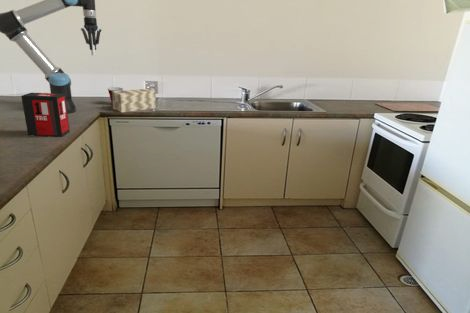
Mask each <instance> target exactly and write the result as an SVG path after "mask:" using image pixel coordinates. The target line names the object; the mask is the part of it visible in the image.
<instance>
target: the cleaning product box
mask: <svg viewBox="0 0 470 313" xmlns="http://www.w3.org/2000/svg"><path fill="white" fill-rule="evenodd" d="M20 97H21V102H22V108H23V109H22V110H23V113H24V119H25V125H26V131H27V136H28V135H34V136H33V137H48V136H52V137H53V138H57V137H58V138H63V137H65V136H66V135H68V134H70V133H71V131H70V130H71V129H70V123H69V117H68V116H69V115H68V114H69V113H67V106H66V99H65V94H54V93H51V92H50V93H49V92H28V93H26V94H22V95H21V96H20Z"/></svg>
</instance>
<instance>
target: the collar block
mask: <svg viewBox="0 0 470 313" xmlns="http://www.w3.org/2000/svg"><path fill="white" fill-rule="evenodd" d="M139 90H146V91H139ZM121 92H129V93H121ZM112 98H113V105H112V108H113V110H114V111H117V112H119V113H128V112H137V111H144V110H151V109H153V110H154V109H156V108H157V103H156V101H157V100H156V91H155V90H152V89H149V88H139V89H127V90H123V91H113V92H112Z"/></svg>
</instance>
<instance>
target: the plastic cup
mask: <svg viewBox="0 0 470 313" xmlns="http://www.w3.org/2000/svg"><path fill="white" fill-rule="evenodd" d="M106 89H107V91H108V94H109V98H110V102H111V105H112V106H113V98H112V92H113V91H124V88H123V87H119V86H118V87H117V86H110V87H107V88H106Z"/></svg>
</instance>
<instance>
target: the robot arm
mask: <svg viewBox="0 0 470 313" xmlns="http://www.w3.org/2000/svg"><path fill="white" fill-rule="evenodd" d="M69 7H82V12H83V13H82V14H83V23H84V25H83V27H82V28H80V31H81V32H82V34H83V38H84V40H85V43H86V44H87V45H89V50H90V51H91V56H96V51H97V45H99V43H100V36H101V32H102V29H101V28H99V27H98V23H97V22H98V21H97V18H96V17H97V13H96V12H97V11H96V0H41V1H39V2H36V3H34V4H31V5H28V6H25V7H23V8H21V9H18V10H14V9H12V10H9V11H6V12H1V13H0V33H1V34H3V35H4V36H6V37H7V38H8V40H9V41H10V42H13V43H16V45H17V46H19V48H20V50H22V51H23V53H24V54H26V55H27V56H28V58H29V59H30V60H31V62H32V63H34V65H36V67H38V69H39V70H40V71H41V72H42V73H43V75H44V79H45V80H46V81H47V82H48V84H49V91H50V93H54V94H65V99H66V106H67V114H71V113H75V112H77V107H76V105H75V102H74V101H73V96H72V89H71V87H72V86H71V85H72V79H71V77H70V76H69V75H68V74H67V73H65V71H63V69H62V68H61V67H57V66H56V65H55V64H54V62H52V60H50V58H49V57H48V56H47V55H46V54H45V52H43V50H42V49H41V48H40V46H38V44H37V43H36V42H35V41H34V40H33V39H32V38H31V36H30V35H29V34H28V30H27V28H26V27H25V25H26V24H29V23H31V22H35V21H36V20H39V19H41V18H44V17H47V16H50V15H51V14H54V13H56V12H59V11H61V10H64V9H67V8H69Z"/></svg>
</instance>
